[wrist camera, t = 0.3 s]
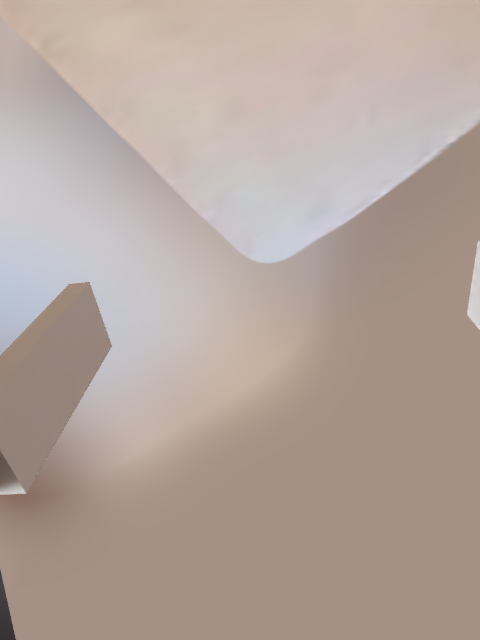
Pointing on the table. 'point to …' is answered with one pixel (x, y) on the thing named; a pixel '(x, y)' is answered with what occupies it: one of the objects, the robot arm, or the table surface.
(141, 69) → the table surface
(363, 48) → the table surface
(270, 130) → the table surface
